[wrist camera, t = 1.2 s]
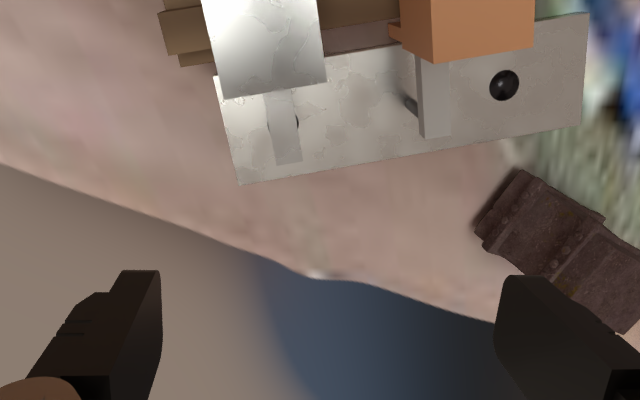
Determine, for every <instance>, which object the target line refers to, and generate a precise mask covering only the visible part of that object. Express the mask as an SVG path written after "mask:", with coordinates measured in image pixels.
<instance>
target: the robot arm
mask: <svg viewBox="0 0 640 400" xmlns="http://www.w3.org/2000/svg"><path fill="white" fill-rule="evenodd" d="M162 342H163V326H162V300H161V279H160V273H159V271H158V270H123V271H122V272H121V273H120V275H119V276H118V278H117V280H116V281H115V283H114V285H113V286H112V288H111V290H110V292H103V293H102V292H95V293H93V294H92V295H90V296H89V297H88V298H86V299H84V300H83V301H81V302H80V303H78V304H77V305H76V306H75V307H74V308H73V310H72V311H71V313H70V314H69V315H68V317H67V318H66V320H65V324H62V326H61V327H60V329H59V330H58V331H57V333H56V337H53V339H52V340H51V342H50V343H49V345H48V346H47V348H46V349H45V350H44V352H43V353H42V355H41V356H40V358H39V359H38V361H37V362H36V364H35V365H34V366H33V368H32V369H31V371H30V372H29V374H28V375H27V377H26V378H25V379H23V380H19V381H16V382H13V383H10V384H8V385H5V386H3V387H1V388H0V400H148V397H149V394H150V390H151V387H152V384H153V381H154V378H155V375H156V371H157V368H158V365H159V362H160V358H161V352H162ZM493 344H494V349H495V353H496V355H497V357H498V359H499V361H500V362H501V364H502V365H503V366H504V368H505V369H506V370H507V372H508V373H509V375H510V376H511V377H512V379H513V380H514V382H515V383H516V384H517V386H518V387H519V389H520V390H521V391H522V393H523V394H524V396H525V397H526V398H527V400H640V353H639V352H638V351H637V350H636V349H635V348H633V347H632V346H631V345H630V344H629V343H628V342H626V341H625V340H624V339H623V338H622V337H620V336H619V335H615V331H613V330H612V329H611V328H610V327H609V326H608V325H606V324H605V323H602V320H601V319H599V318H598V317H597V316H596V315H595V314H594V313H592V312H591V311H590V310H589V309H588V308H587V307H585V306H583V305H581V304H579V303H577V302H575V301H574V300H572V299H570V298H568V297H567V296H566V295H565V294H564V293H562V292H561V291H560V290H559V289H558V288H557V287H556V286H554V285H553V284H552V283H551V282H550V281H549V280H547V279H546V278H545V277H544V276H541V275H509V276H508V277H507V278H506V279H505V281H504V283H503V287H502V292H501V297H500V302H499V307H498V312H497V317H496V321H495V326H494V331H493Z"/></svg>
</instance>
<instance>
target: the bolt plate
mask: <svg viewBox="0 0 640 400" xmlns="http://www.w3.org/2000/svg"><path fill="white" fill-rule="evenodd" d="M589 15H590V13H586V12H578V13H572V14H566V15H560V16H554V17H548V18H542V19H536V20H534V41H533V47H531V48H526V49H520V50H514V51H508V52H502V53H496V54H491V55H485V56H479V57H473V58H467V59H461V60H455V61H450V62H449V82H450V113H451V135H449V136H443V137H437V138H432V139H426V140H425V139H424V138H423V137H422V136H421V135H420V134H419V122H418V118H417V117H416V116H415V115H413V114H412V113H411V112H410V111H409V110H408V109H407V108H406V107H405V102H406V100H407V99H409V98H413V99H414V100H416V101H417V89H416V72H415V56H414V54H412V53H410V52H408V51H406V50H404V49H402V42H400V43H394V44H388V45H382V46H376V47H370V48H364V49H358V50H352V51H346V52H340V53H334V54H328V55H324V62H325V69H326V76H327V83H321V84H315V85H309V86H303V87H297V88H292V89H291V92H292V98H293V104H294V110H295V116H296V122H297V128H298V134H299V139H300V145H301V151H302V157H303V161H302V162H296V163H291V164H285V165H280V166H276V161H275V156H274V151H273V146H272V140H271V135H270V130H269V125H268V120H267V115H266V110H265V105H264V100H263V95H262V94H256V95H251V96H245V97H239V98H233V99H227V100H224V98H223V94H222V90H221V85H220V81H219V77H218V73H216V74H214V75H213V79H214V83H215V87H216V92H217V96H218V100H219V104H220V109H221V113H222V117H223V121H224V126H225V130H226V134H227V138H228V143H229V147H230V151H231V155H232V160H233V164H234V168H235V172H236V177H237V181H238V185H239V186H241V185H247V184H252V183H258V182H263V181H269V180H275V179H280V178H286V177H291V176H297V175H303V174H308V173H314V172H319V171H325V170H331V169H336V168H342V167H347V166H353V165H359V164H364V163H370V162H375V161H381V160H387V159H392V158H398V157H403V156H409V155H415V154H420V153H426V152H431V151H437V150H443V149H448V148H454V147H459V146H465V145H471V144H476V143H482V142H487V141H493V140H499V139H504V138H510V137H515V136H521V135H527V134H532V133H538V132H543V131H549V130H554V129H560V128H566V127H571V126H577V125H580V122H581V110H582V98H583V87H584V75H585V63H586V51H587V39H588V27H589Z"/></svg>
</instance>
